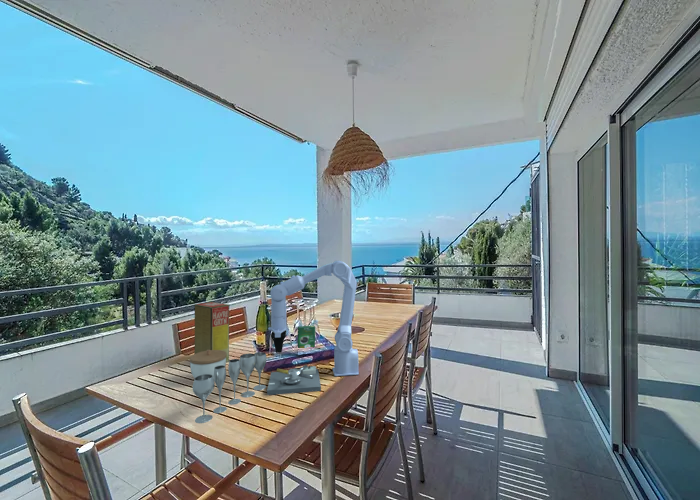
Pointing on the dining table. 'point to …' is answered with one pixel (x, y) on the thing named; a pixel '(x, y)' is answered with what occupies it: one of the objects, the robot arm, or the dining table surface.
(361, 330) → the dining table surface
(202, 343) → the food packaging
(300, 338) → the coffee box
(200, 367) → the lidded bowl
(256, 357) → the goblet set
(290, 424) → the dining table surface
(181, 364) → the dining table surface
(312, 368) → the levelling stand
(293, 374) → the capstan
